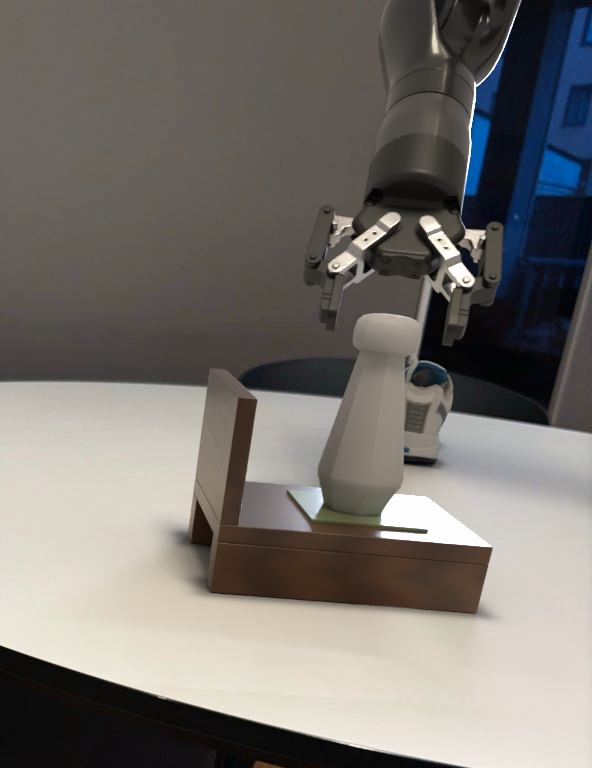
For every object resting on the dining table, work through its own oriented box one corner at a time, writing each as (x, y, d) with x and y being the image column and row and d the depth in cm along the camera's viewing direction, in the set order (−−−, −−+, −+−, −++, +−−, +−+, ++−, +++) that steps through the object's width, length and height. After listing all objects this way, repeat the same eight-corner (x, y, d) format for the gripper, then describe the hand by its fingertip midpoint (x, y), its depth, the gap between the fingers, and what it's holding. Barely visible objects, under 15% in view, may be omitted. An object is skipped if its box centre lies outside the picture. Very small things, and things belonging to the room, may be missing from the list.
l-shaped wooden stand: (414, 553, 79) (450, 391, 75) (476, 613, 67) (524, 423, 63) (187, 535, 78) (209, 367, 73) (210, 592, 66) (238, 396, 61)
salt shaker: (307, 493, 74) (340, 307, 69) (386, 501, 74) (424, 316, 69) (318, 513, 68) (354, 313, 64) (403, 523, 68) (445, 323, 64)
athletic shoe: (431, 432, 134) (428, 339, 129) (471, 472, 113) (470, 363, 108) (353, 441, 135) (348, 350, 131) (379, 483, 114) (374, 376, 110)
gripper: (332, 122, 78) (295, 282, 72) (524, 138, 75) (503, 306, 69) (323, 200, 85) (289, 352, 79) (499, 217, 82) (478, 376, 76)
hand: (389, 330), depth 74 cm, fingers open, 8 cm apart
